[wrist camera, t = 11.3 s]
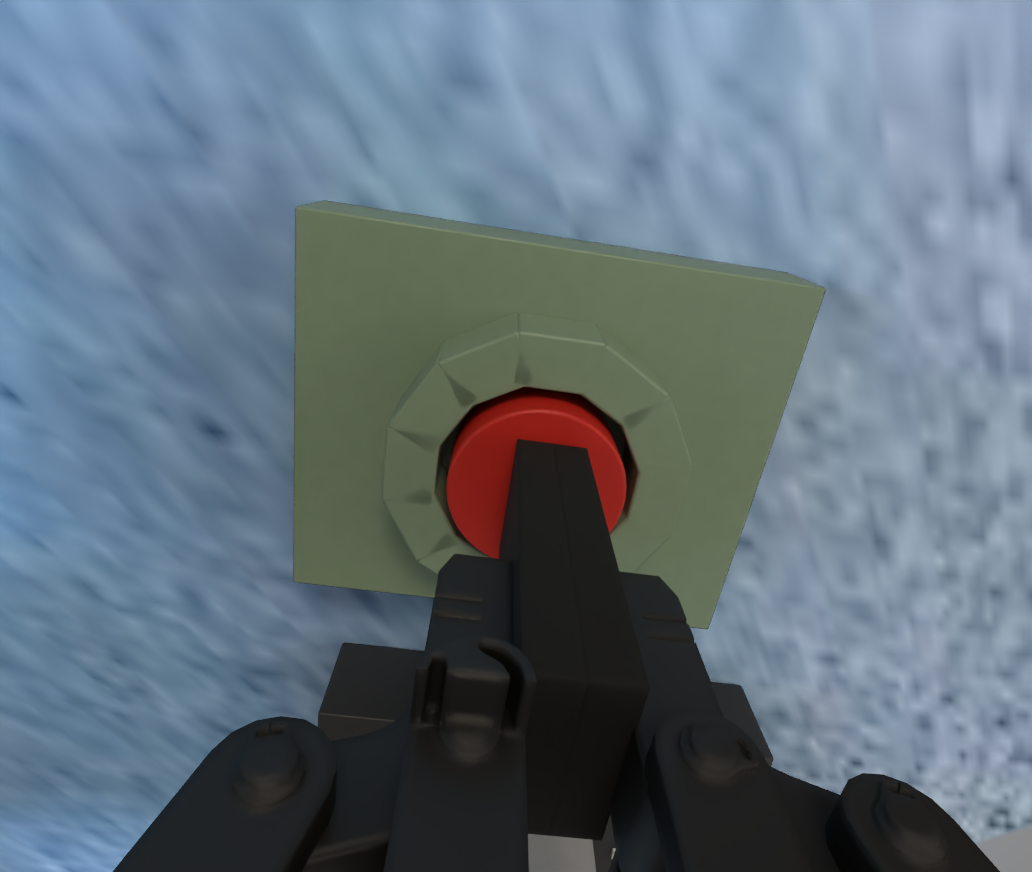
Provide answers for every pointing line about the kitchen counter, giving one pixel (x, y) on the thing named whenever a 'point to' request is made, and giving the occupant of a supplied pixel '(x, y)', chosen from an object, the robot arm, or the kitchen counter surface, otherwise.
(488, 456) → the power button
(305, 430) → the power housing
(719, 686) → the panel
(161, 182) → the kitchen counter surface
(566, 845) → the timer dial
